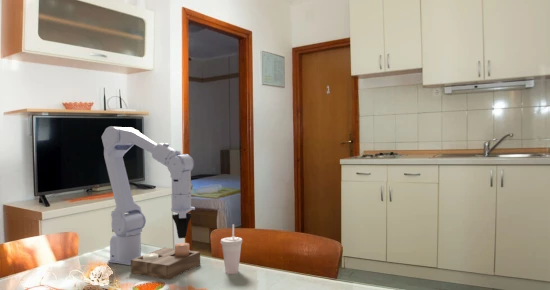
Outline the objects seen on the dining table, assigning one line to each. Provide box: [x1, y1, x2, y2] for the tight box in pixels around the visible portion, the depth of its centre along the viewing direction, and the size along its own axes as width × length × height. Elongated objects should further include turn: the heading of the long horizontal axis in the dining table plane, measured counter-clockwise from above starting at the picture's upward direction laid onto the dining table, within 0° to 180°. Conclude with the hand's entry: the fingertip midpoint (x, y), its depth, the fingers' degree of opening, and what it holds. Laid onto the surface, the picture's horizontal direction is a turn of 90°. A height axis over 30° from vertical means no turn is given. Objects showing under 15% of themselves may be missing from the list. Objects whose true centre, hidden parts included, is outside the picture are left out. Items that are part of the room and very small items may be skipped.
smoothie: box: [220, 224, 243, 275], centre depth 115 cm, size 6×6×14 cm
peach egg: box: [174, 242, 190, 258], centre depth 120 cm, size 4×4×3 cm
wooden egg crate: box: [130, 247, 201, 281], centre depth 118 cm, size 14×15×4 cm
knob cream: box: [142, 252, 158, 261], centre depth 117 cm, size 4×4×3 cm
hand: (181, 237), depth 120 cm, fingers closed
